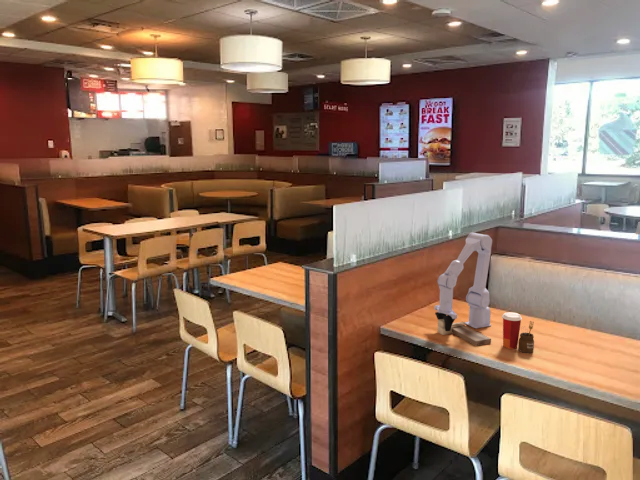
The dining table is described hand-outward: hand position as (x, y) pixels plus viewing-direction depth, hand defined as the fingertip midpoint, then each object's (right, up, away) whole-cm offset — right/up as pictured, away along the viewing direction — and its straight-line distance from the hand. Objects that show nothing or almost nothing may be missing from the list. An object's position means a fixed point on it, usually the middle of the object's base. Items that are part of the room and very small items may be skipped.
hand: (444, 329), depth 232 cm
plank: (+9, -2, -4) cm, 10 cm away
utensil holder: (+29, -5, -20) cm, 36 cm away
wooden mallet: (+4, -1, +2) cm, 4 cm away
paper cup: (+24, -5, -16) cm, 29 cm away
